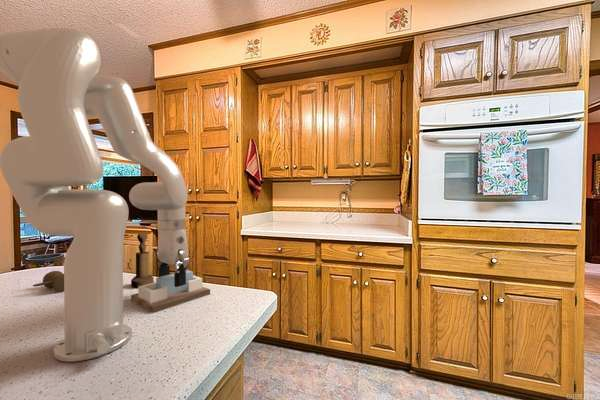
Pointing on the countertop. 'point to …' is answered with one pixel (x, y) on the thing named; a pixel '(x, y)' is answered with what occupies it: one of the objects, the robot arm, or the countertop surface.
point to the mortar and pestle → (142, 264)
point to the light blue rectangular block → (172, 282)
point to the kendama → (53, 281)
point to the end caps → (164, 290)
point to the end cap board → (171, 299)
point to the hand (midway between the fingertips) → (171, 282)
